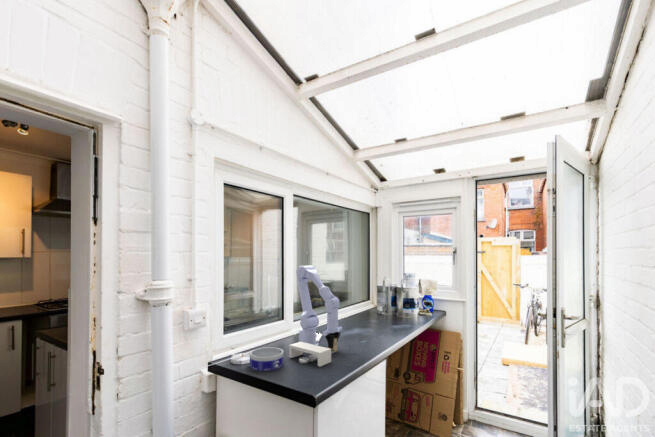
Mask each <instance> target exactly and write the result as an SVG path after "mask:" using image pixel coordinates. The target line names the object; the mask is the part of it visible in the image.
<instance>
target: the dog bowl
mask: <svg viewBox="0 0 655 437" xmlns="http://www.w3.org/2000/svg"><path fill="white" fill-rule="evenodd" d="M283 365H284V349H282V348H279V347H274V346H273V347H272V346H269V347H265V346H264V347H260V348H259V347H258V348H256V349H253V350H251V351H250V352H249V368H250V369H252V370H254V371H258V372H269V371H274V370H278V369H280V368H282V366H283Z"/></svg>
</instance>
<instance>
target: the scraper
mask: <svg viewBox="0 0 655 437" xmlns="http://www.w3.org/2000/svg"><path fill="white" fill-rule="evenodd" d="M327 348H329V346H328V345H327ZM330 349H331V355H332V354H335V353H337V352H338V341H337V338H334V341H333V348H330ZM306 357H307V358H309V363H310V362H311V363H312V362H315V361H318V356H317V355H313V354H310V355H308V356H306Z"/></svg>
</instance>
